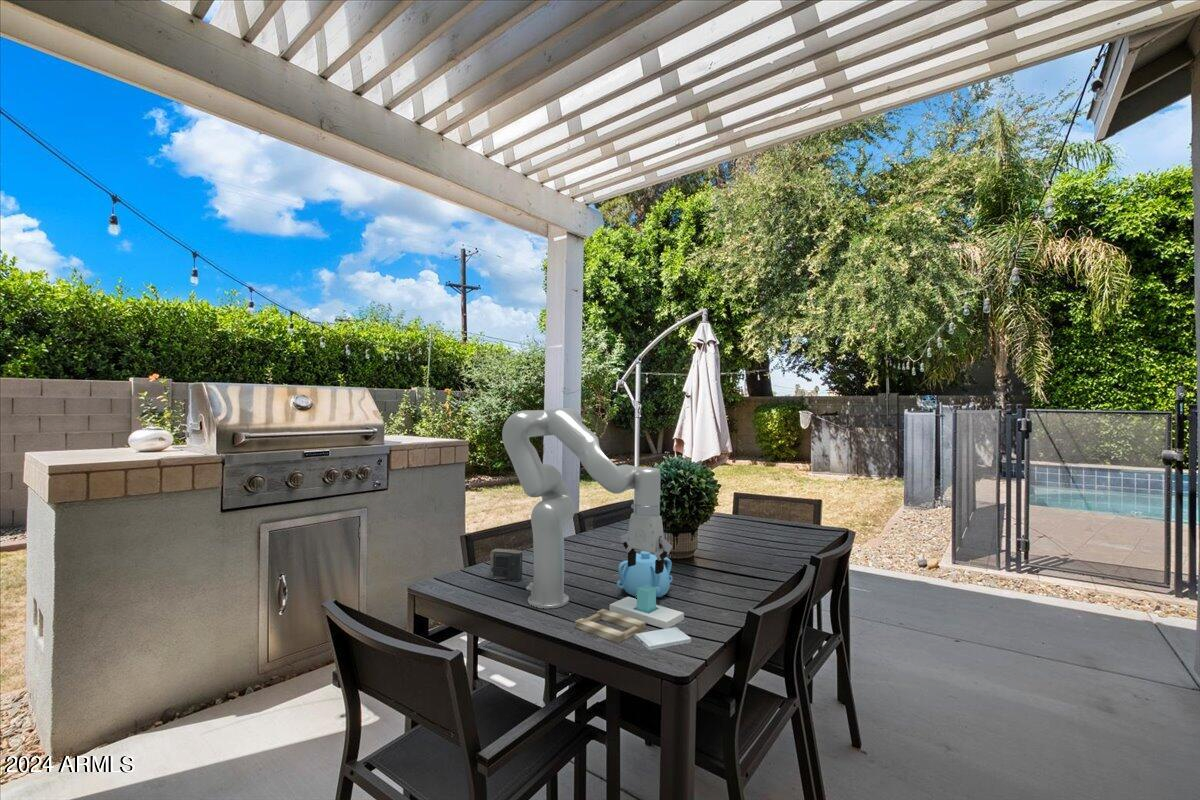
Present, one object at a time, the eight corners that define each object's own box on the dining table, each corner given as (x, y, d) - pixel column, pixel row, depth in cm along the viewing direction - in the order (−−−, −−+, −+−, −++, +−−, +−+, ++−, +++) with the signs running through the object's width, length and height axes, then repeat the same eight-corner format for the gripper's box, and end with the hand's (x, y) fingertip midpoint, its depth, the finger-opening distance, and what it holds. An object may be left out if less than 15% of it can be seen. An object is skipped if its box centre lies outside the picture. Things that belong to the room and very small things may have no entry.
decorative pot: (610, 596, 176) (610, 553, 176) (634, 582, 190) (634, 542, 190) (656, 606, 167) (656, 561, 167) (678, 591, 181) (678, 549, 181)
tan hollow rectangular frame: (575, 627, 151) (575, 621, 151) (603, 615, 160) (603, 608, 160) (618, 643, 141) (618, 636, 141) (645, 628, 150) (645, 622, 150)
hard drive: (675, 626, 150) (634, 632, 145) (691, 638, 142) (648, 645, 137) (675, 632, 150) (634, 639, 145) (691, 644, 142) (648, 652, 137)
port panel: (609, 611, 163) (609, 604, 163) (627, 603, 170) (627, 596, 170) (666, 629, 150) (666, 622, 150) (684, 619, 157) (684, 612, 157)
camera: (524, 578, 193) (524, 549, 193) (517, 583, 188) (518, 553, 188) (494, 575, 196) (495, 547, 197) (487, 580, 191) (487, 551, 191)
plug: (636, 615, 160) (636, 588, 160) (644, 612, 163) (644, 584, 163) (647, 619, 157) (648, 591, 157) (655, 615, 160) (656, 587, 160)
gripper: (615, 507, 163) (613, 565, 163) (664, 516, 152) (662, 579, 152) (630, 504, 169) (629, 560, 169) (679, 512, 157) (677, 573, 157)
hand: (645, 569), depth 160 cm, fingers open, 9 cm apart
